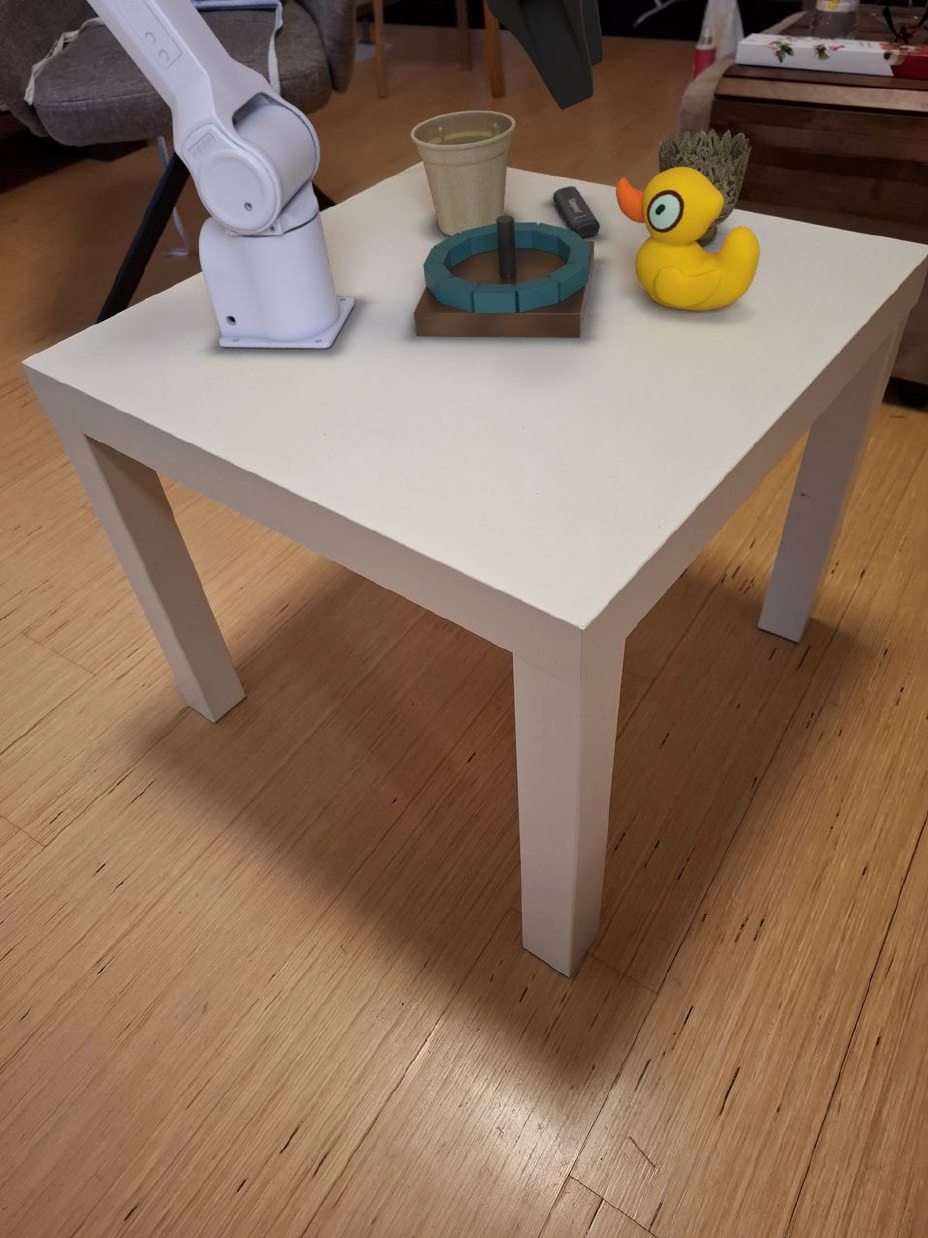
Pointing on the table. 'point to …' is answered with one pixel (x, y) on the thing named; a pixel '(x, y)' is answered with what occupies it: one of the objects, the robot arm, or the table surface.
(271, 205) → the robot arm
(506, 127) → the flower pot
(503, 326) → the ring toss peg base
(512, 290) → the teal segmented ring
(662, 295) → the duckling
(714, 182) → the cup
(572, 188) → the usb stick
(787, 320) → the table surface
